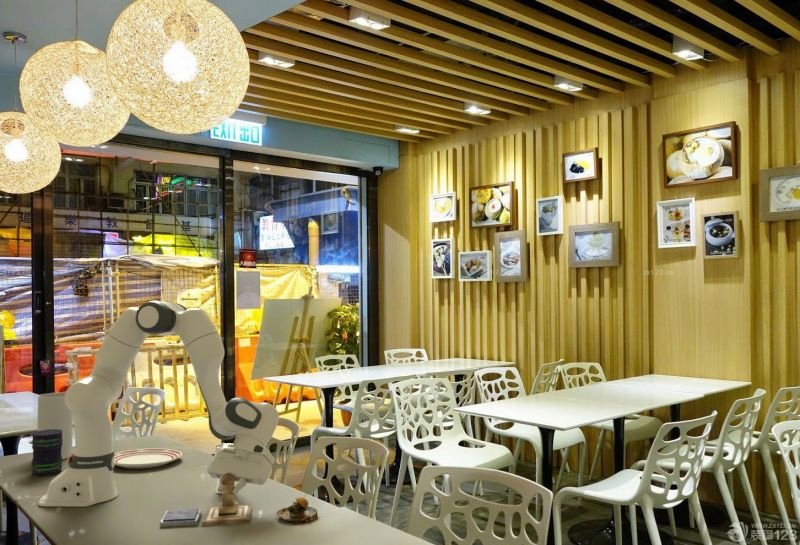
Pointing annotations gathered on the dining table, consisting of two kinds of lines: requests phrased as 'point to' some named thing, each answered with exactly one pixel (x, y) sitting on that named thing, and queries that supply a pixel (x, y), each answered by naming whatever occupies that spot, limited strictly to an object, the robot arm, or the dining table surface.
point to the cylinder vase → (56, 419)
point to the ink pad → (180, 518)
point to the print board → (240, 517)
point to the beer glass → (217, 450)
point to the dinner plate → (145, 458)
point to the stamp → (227, 496)
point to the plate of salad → (298, 512)
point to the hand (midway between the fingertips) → (226, 492)
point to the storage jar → (47, 453)
